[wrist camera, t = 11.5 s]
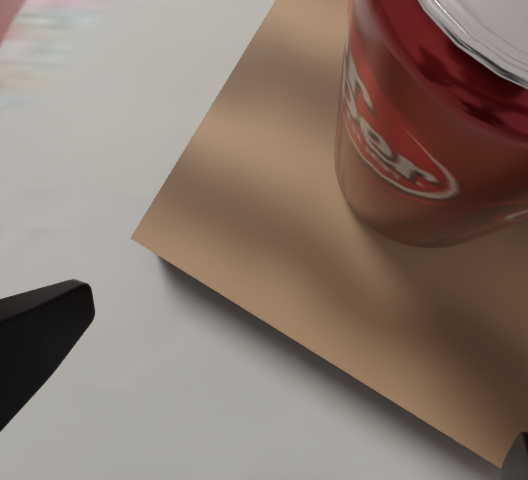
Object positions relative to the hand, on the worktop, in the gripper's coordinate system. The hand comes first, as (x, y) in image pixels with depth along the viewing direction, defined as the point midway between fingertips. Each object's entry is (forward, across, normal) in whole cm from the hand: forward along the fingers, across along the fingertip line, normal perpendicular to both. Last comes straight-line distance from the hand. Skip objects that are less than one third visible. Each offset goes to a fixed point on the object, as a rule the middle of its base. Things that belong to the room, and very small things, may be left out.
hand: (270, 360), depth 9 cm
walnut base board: (+14, -2, 0) cm, 14 cm away
